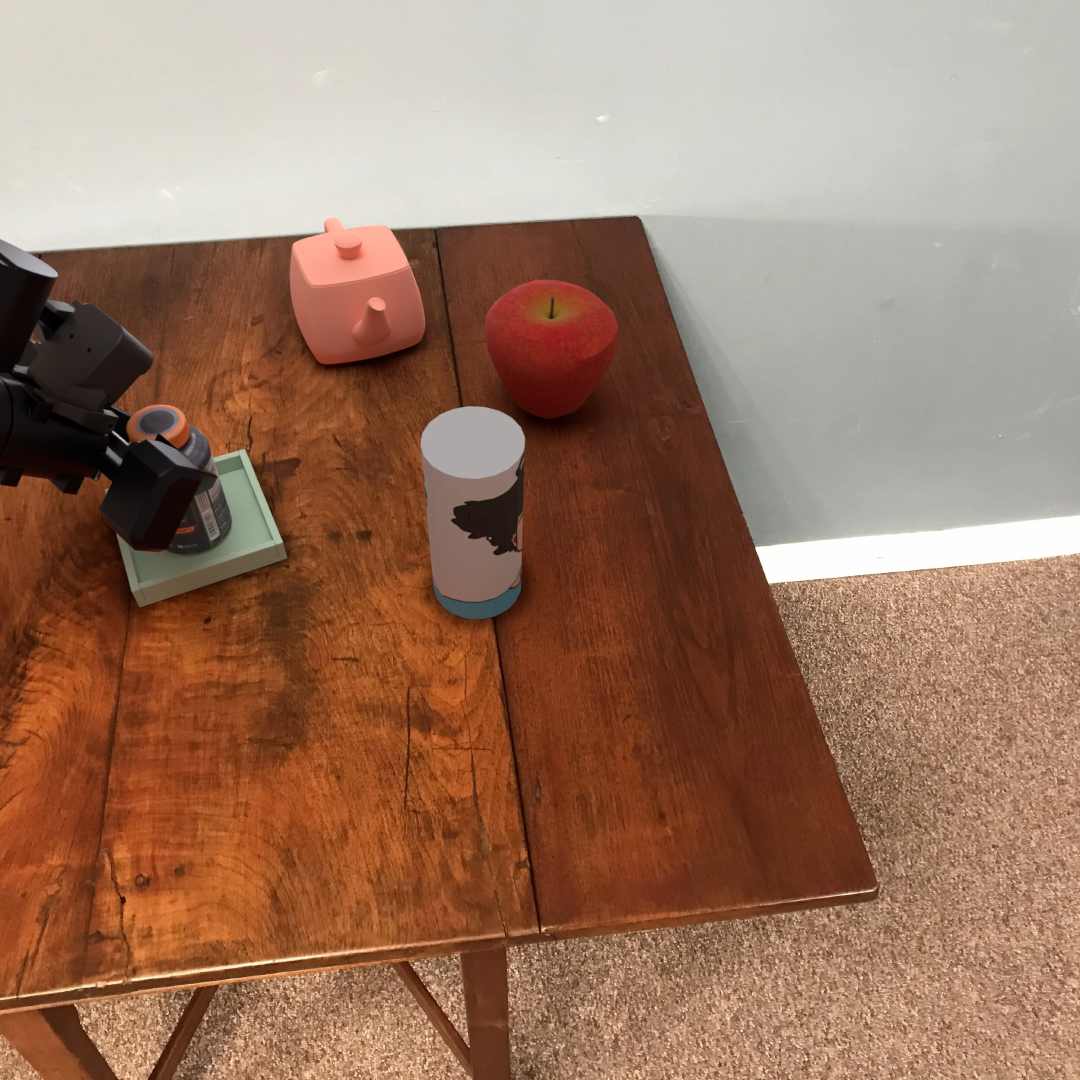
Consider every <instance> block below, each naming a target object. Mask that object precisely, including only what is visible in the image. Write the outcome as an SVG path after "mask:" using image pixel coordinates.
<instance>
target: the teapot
mask: <svg viewBox="0 0 1080 1080" xmlns="http://www.w3.org/2000/svg"><path fill="white" fill-rule="evenodd" d="M323 229H324V233H320V234H316V235H312V236H307V237H304V238H301V239H299V240H297V241H295V242H293V244H292V246H291V254H290V265H289V266H290V267H289V268H290V269H289V289H290V297H291V303H292V308H293V312H294V315H295V319H296V322H297V325H298V328H299V330H300V332H301V335H302V337H303V339H304V341H305V343H306V345H307V346H308V348H309V350H310V351H311V353H312V355H313V357H314V358H315V359H316V361H317V362H318V363H320V364H322V365H323V364H324V365H335V364H345V363H351V362H359V361H363V360H369V359H374V358H378V357H382V356H386V355H390V354H393V353H395V352H399V351H402V350H405V349H407V348H410V347H413V346H416V345H417V344H419V343H420V342H421V341H422V338H423V336H424V333H425V330H426V317H425V310H424V306H423V305H424V304H423V301H422V296H421V293H420V290H419V286H418V284H417V281H416V278H415V276H414V273H413V270H412V268H411V265H410V262H409V260H408V257H407V256H406V254H405V252H404V250H403V248H402V247H401V245H400V243H399V241H398V240H397V238H396V236H395V234H394V233H393V231H392V230H391V229H390V228H389V227H388V226H386V225H381V224H377V225H376V224H374V225H366V226H365V225H363V226H357V227H350V228H344V225H343V223H342V222H341V220H340V219H339V218H337V217H334V216H333V217H332V216H331V217H330V216H329V217H327V218H326V219H325V220H324V222H323Z"/></svg>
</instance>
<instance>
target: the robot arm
mask: <svg viewBox="0 0 1080 1080" xmlns="http://www.w3.org/2000/svg"><path fill="white" fill-rule="evenodd" d="M58 277H59V274H58V272H57V271H56V270H55V269H54V268H52V267H51V266H50V265H49V264H48V263H46V262H45V261H43V260H41V259H39V258H38V257H36V256H35V255H33V254H31V253H29V252H27V251H26V250H23V249H22V248H20V247H18V246H16V245H13V244H12V243H9V242H8V241H5V240H3V239H1V238H0V486H5V487H13V488H17V487H18V485H19V483H20V481H21V479H22V477H29V478H36V479H43V480H48V481H49V482H50V483H52V484H53V486H55V487H56V488H57V489H58V490H59V492H61V493H62V494H67V495H74V496H77V495H78V493H79V491H80V489H81V487H82V485H83V483H84V480H85V478H86V479H87V478H88V479H89V480H90V481H92V482H98V481H100V479H101V477H102V475H104V477H106V478H107V479H108V480H109V481H110V486H109V489H108V488H107V489H108V492H107V494H106V493H105V496H104V498H103V499H102V502H101V503H100V506H99V508H98V510H99V512H100V514H101V516H102V518H103V521H104V523H105V524H106V525H107V526H108V527H109V528H110V530H112V531H113V532H115V534H116V533H117V534H118V535H119V536H120V537H121V538H122V539H123V540H124V541H125V542H126V543H127V544H128V545H129V546H131V547H132V548H133V549H134V550H135V551H148V552H161V551H164V550H167V549H168V547H169V545H170V543H171V541H172V539H173V537H174V535H175V533H176V531H177V529H178V527H179V525H180V523H181V521H182V519H183V517H184V515H185V513H186V511H187V509H188V507H189V505H190V503H191V501H192V499H193V497H194V496H196V495H199V494H201V493H203V492H205V491H207V490H210V489H211V488H212V487H213V486H214V484H215V482H216V480H217V475H216V474H215V473H213V472H210V471H208V470H206V469H203V468H201V467H198V466H196V465H195V464H193V463H192V462H191V461H190V460H189V459H187V458H186V457H185V456H184V455H183V454H182V452H181V451H180V450H179V449H178V448H177V447H175V446H174V445H173V444H172V443H171V442H169V441H168V440H167V439H166V438H165V437H163V436H162V435H161V434H160V433H158V434H157V436H156V438H155V440H149V439H145V440H143V441H142V442H138V441H134V442H132V443H131V444H128V443H129V442H130V439H129V436H128V434H127V430H126V429H127V423H128V421H129V419H130V418H131V417H132V416H133V415H134V414H133V413H130V412H128V411H126V410H124V409H122V408H121V407H119V406H117V405H115V404H116V403H117V402H118V401H119V400H120V399H121V398H122V396H123V395H124V394H125V392H127V391H128V390H129V389H130V387H131V386H132V385H133V384H134V383H135V382H136V381H137V380H138V379H139V378H140V377H141V376H143V375H145V374H147V373H148V371H149V370H150V369H151V368H152V367H153V363H154V354H153V352H152V351H151V350H150V349H148V348H147V347H146V346H145V345H144V344H143V343H142V342H141V341H139V340H138V339H137V338H136V337H135V336H134V335H132V334H131V333H130V332H129V331H127V330H126V328H124V327H123V326H122V325H121V324H119V323H118V322H117V321H116V320H114V319H113V318H112V317H110V316H109V315H108V314H106V313H105V312H104V311H103V310H101V308H99V307H98V306H96V305H94V304H92V303H87V302H83V303H82V302H81V301H79V300H78V299H74V300H73V301H72V303H71V304H72V305H73V306H71V305H70V304H69V303H67V302H64V301H59V300H54V299H49V298H50V295H51V293H52V291H53V288H54V286H55V284H56V282H57V280H58ZM32 335H34V336H35V337H36V338H37V339H38V340H39V341H36V340H33V339H31V337H32ZM117 534H116V535H117Z"/></svg>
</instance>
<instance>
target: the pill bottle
mask: <svg viewBox="0 0 1080 1080" xmlns="http://www.w3.org/2000/svg"><path fill="white" fill-rule="evenodd" d="M132 415H133V416H132V417H131V418H130V419H129V421H128V423H127V429H126V430H127V434H128V436H129V439H130V442H129V443H128V444H131V443H132V442H134V441H138V442H142V441H143V440H145V439H149V440H155V438H156V436H157V434H158V433H160V434H161V435H162V436H163V437H165V438H166V439H167V440H168V441H169V442H171V443H172V444H173V445H174V446H175V447H177V448H178V449H179V450H180V451H181V452H182V454H183V455H184V456H185V457H186V458H187V459H189V460H190V461H191V462H192V463H193V464H195V465H196V466H198V467H201V468H203V469H206V470H208V471H210V472H213V473H215V474H216V475H217V480H216V482H215V484H214V486H213V487H212V488H211V489H210V490H207V491H205V492H203V493H201V494H199V495H196V496H194V497H193V499H192V501H191V503H190V505H189V507H188V509H187V511H186V513H185V515H184V517H183V519H182V521H181V523H180V525H179V527H178V529H177V531H176V533H175V535H174V537H173V539H172V541H171V543H170V545H169V547H168V549H167V551H169V552H172V553H176V554H183V555H189V554H197V553H201V552H204V551H207V550H209V549H211V548H213V547H215V546H216V545H218V544H219V543H220V542H221V541H222V540H223V539H224V538H225V537H226V535H227V534H228V532H229V530H230V528H231V523H232V517H231V513H230V510H229V507H228V504H227V500H226V497H225V494H224V491H223V488H222V485H221V482H220V478H219V475H218V472H217V468H216V465H215V462H214V459H213V458H214V456H213V453H212V450H211V447H210V443H209V441H208V439H207V437H206V435H205V434H204V433H203V432H202V431H201V430H200V429H198V428H197V427H195V426H193V425H192V424H189V423H188V421H187V418H186V415H185V413H184V412H183V411H182V410H180V409H179V408H178V407H176V406H173V405H169V404H152V405H149V406H146V407H143V408H141V409H139V410H138V411H136V412H134V413H133V414H132Z"/></svg>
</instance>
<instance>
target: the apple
mask: <svg viewBox="0 0 1080 1080" xmlns="http://www.w3.org/2000/svg"><path fill="white" fill-rule="evenodd" d="M484 319H485V322H484V339H485V343H486V347H487V352H488V355H489V357H490V359H491V361H492V364H493V366H494V369H495V371H496V373H497V376H498V378H499V379H500V380H501V382H502V384H503V385H504V387H505V388H506V390H507V391H508V393H509V395H510V396H511V398H512V399H513V401H514V402H515V404H516V405H517V406H518V407H519V408H520V409H521V410H523V411H525V412H526V413H528V414H530V415H533V416H534V417H538V418H541V419H544V420H550V419H552V420H553V419H556V418H557V419H558V418H561V417H563V416H567V415H569V414H572V413H574V412H576V411H577V410H578V409H580V407H582V406H584V404H585V402H586V401H587V399H588V398H589V397H590V395H592V393H593V392H594V390H595V389H596V387H598V385H599V383H600V381H601V380H602V378H603V377H604V375H605V373H606V372H607V370H608V368H609V367H610V366H611V364H612V362H613V361H614V358H615V355H616V353H617V350H618V349H619V328H620V327H619V324H618V321H617V319H616V316H615V312H614V311H613V310H612V309H611V308H610V307H609V306H608V305H607V304H606V303H605V302H604V301H602V300H601V298H599V297H598V296H597V295H596V294H595V293H593V292H592V291H591V290H589V289H587V288H585V287H582V286H580V285H577V284H575V283H570V282H566V281H562V280H558V279H533V280H532V281H528V282H524V283H521V284H518V285H517V286H515V287H514V288H512V289H510V290H509V291H507V292H505V293H504V294H503V295H501V296H500V297H499V298H498V299H496V300H495V301H494V302H493V303H492V305H491V307H490V309H489V310H488V312H487V313H486V315H485V318H484Z"/></svg>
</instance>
